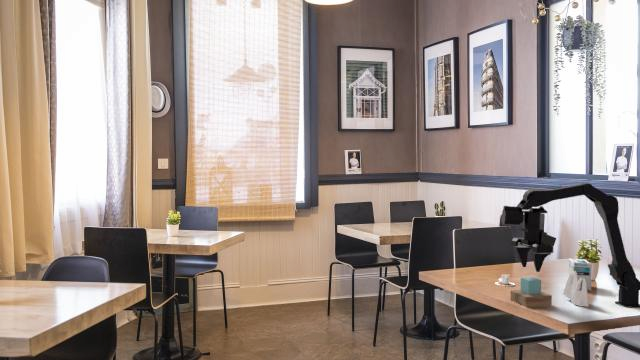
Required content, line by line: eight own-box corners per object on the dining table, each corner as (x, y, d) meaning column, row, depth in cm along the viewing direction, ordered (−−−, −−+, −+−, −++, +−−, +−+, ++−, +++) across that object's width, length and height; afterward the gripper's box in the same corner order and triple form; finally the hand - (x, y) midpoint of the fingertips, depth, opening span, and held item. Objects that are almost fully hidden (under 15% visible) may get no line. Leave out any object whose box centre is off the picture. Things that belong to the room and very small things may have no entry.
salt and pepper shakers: (561, 298, 226) (562, 268, 226) (572, 298, 227) (573, 268, 226) (577, 306, 214) (578, 275, 214) (589, 306, 215) (590, 275, 214)
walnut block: (551, 306, 216) (551, 295, 215) (525, 308, 213) (526, 297, 213) (535, 300, 225) (535, 289, 225) (510, 301, 223) (510, 290, 223)
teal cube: (541, 293, 218) (541, 279, 217) (528, 294, 216) (528, 280, 216) (533, 290, 222) (533, 277, 222) (520, 291, 221) (520, 277, 221)
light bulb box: (591, 290, 240) (592, 263, 240) (573, 289, 241) (573, 262, 241) (585, 285, 251) (586, 258, 250) (567, 284, 252) (568, 258, 251)
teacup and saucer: (498, 281, 258) (498, 272, 257) (517, 284, 253) (518, 274, 253) (492, 285, 250) (492, 275, 250) (512, 287, 246) (512, 277, 246)
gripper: (568, 228, 211) (566, 273, 211) (539, 222, 229) (537, 264, 230) (538, 228, 209) (537, 274, 209) (511, 222, 227) (510, 264, 228)
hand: (531, 269), depth 219 cm, fingers open, 9 cm apart
